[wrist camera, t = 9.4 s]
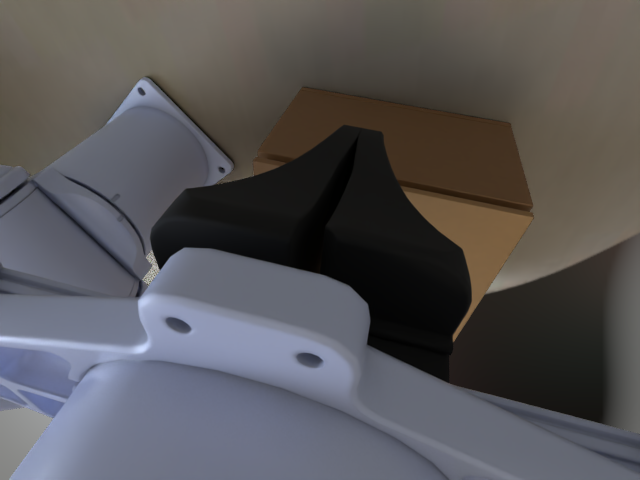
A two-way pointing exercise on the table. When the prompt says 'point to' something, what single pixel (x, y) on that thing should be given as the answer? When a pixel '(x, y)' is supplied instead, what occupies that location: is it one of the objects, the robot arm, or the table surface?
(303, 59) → the table surface
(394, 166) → the carton
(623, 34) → the table surface
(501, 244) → the flap
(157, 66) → the table surface
